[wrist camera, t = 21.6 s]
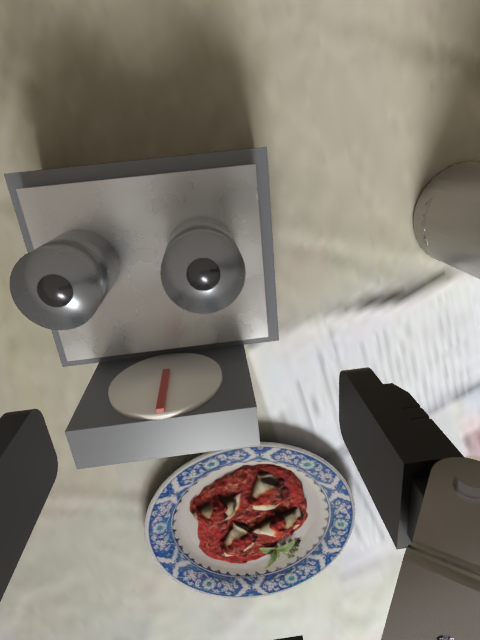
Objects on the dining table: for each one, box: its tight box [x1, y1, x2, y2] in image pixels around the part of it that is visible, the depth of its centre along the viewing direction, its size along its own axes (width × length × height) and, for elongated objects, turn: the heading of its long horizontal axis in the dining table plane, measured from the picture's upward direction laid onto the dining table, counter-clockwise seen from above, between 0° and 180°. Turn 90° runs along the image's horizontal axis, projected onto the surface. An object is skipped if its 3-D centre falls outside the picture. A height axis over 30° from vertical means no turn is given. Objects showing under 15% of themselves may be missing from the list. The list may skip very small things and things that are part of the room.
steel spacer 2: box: [160, 216, 246, 314], centre depth 26 cm, size 5×5×6 cm
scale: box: [4, 147, 279, 469], centre depth 30 cm, size 18×18×16 cm
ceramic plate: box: [144, 442, 355, 599], centre depth 50 cm, size 26×26×3 cm
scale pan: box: [16, 164, 268, 361], centre depth 30 cm, size 16×13×1 cm
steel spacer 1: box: [10, 229, 119, 330], centre depth 26 cm, size 5×5×6 cm
